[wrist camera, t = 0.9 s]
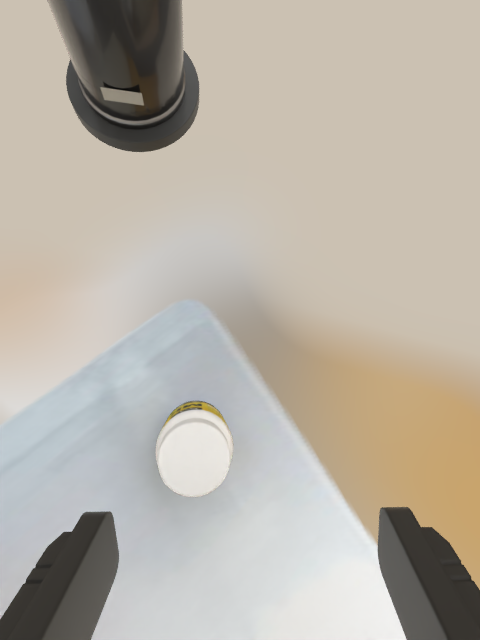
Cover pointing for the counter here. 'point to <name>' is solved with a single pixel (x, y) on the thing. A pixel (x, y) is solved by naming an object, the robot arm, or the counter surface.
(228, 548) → the counter surface
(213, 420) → the supplement bottle
